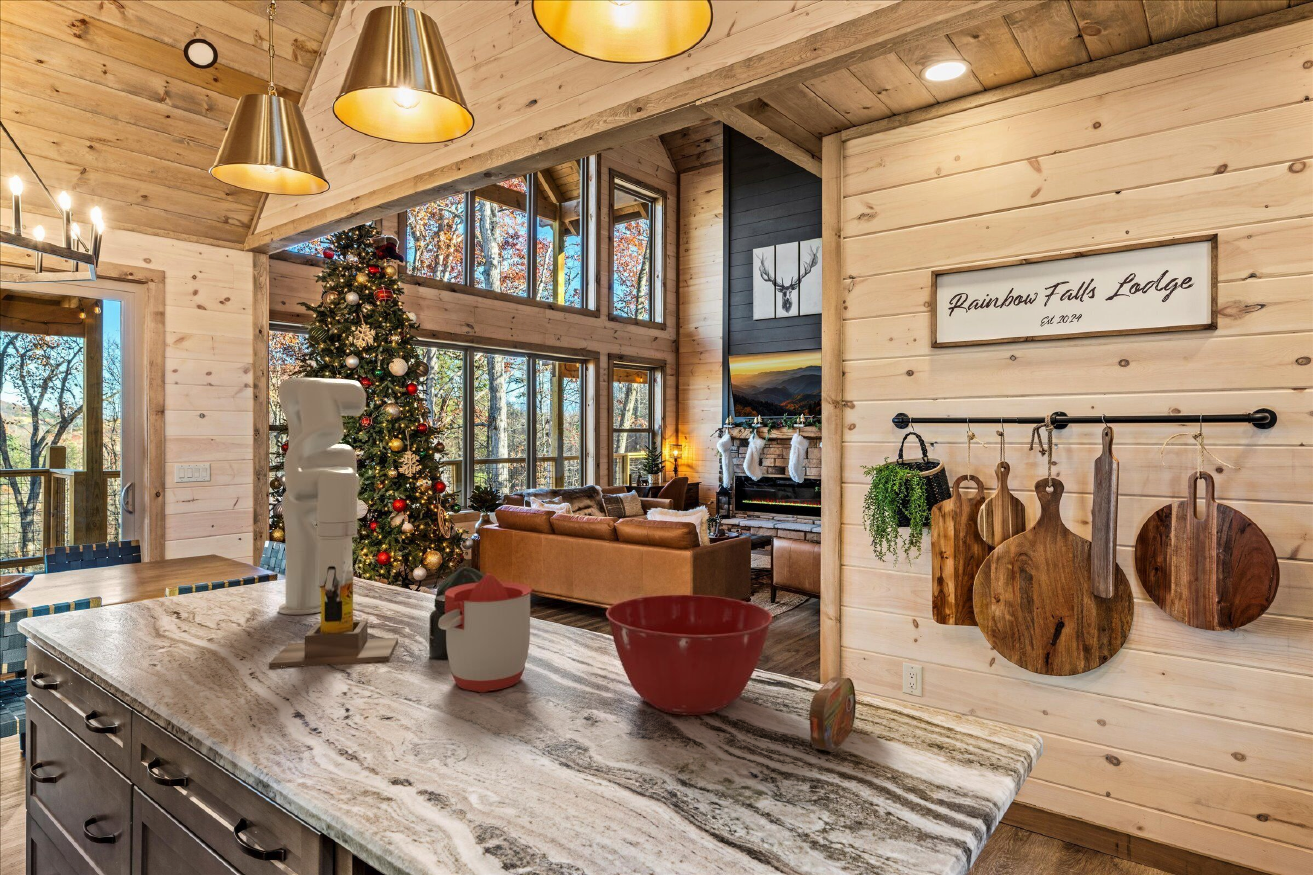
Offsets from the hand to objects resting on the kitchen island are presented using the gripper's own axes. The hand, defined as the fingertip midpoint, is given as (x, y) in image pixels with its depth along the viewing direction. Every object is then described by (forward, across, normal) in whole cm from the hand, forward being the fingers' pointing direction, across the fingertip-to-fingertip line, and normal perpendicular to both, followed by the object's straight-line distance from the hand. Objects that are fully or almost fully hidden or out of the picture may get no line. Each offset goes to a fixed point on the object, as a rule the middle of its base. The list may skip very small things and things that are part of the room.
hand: (337, 615), depth 147 cm
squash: (+8, -18, +25) cm, 32 cm away
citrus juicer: (+8, +23, +30) cm, 39 cm away
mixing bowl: (+8, +39, +65) cm, 76 cm away
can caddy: (+8, 0, 0) cm, 8 cm away
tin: (+8, +58, +82) cm, 101 cm away
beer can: (+5, 0, 0) cm, 5 cm away
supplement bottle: (+8, +5, +22) cm, 24 cm away
